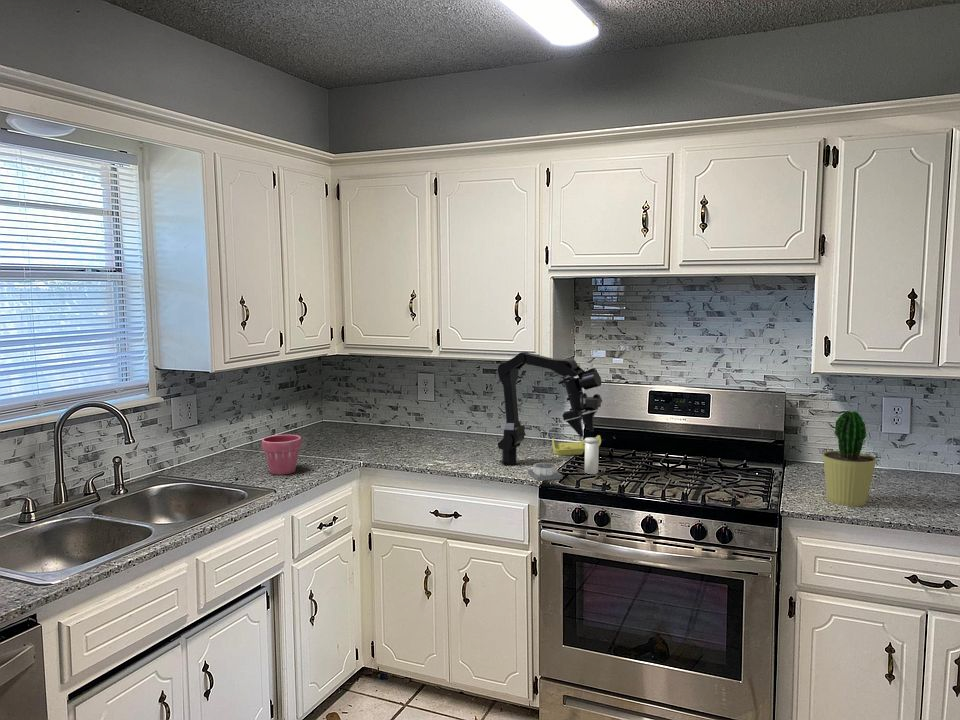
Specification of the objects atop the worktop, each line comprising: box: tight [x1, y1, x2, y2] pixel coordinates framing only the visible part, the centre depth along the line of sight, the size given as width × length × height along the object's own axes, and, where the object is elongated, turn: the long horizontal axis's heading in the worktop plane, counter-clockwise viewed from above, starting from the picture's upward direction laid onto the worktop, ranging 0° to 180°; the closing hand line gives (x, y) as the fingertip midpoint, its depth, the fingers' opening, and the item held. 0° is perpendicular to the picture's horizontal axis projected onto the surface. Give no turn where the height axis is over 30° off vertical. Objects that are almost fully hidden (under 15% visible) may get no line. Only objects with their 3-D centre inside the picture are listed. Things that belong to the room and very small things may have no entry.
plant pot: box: [261, 434, 302, 475], centre depth 268 cm, size 14×14×13 cm
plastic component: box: [551, 434, 602, 456], centre depth 299 cm, size 20×7×10 cm
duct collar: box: [527, 462, 563, 482], centre depth 262 cm, size 10×10×4 cm
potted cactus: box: [822, 410, 877, 507], centre depth 232 cm, size 15×15×30 cm
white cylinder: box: [583, 436, 600, 475], centre depth 266 cm, size 5×5×13 cm
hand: (587, 434), depth 263 cm, fingers open, 9 cm apart
